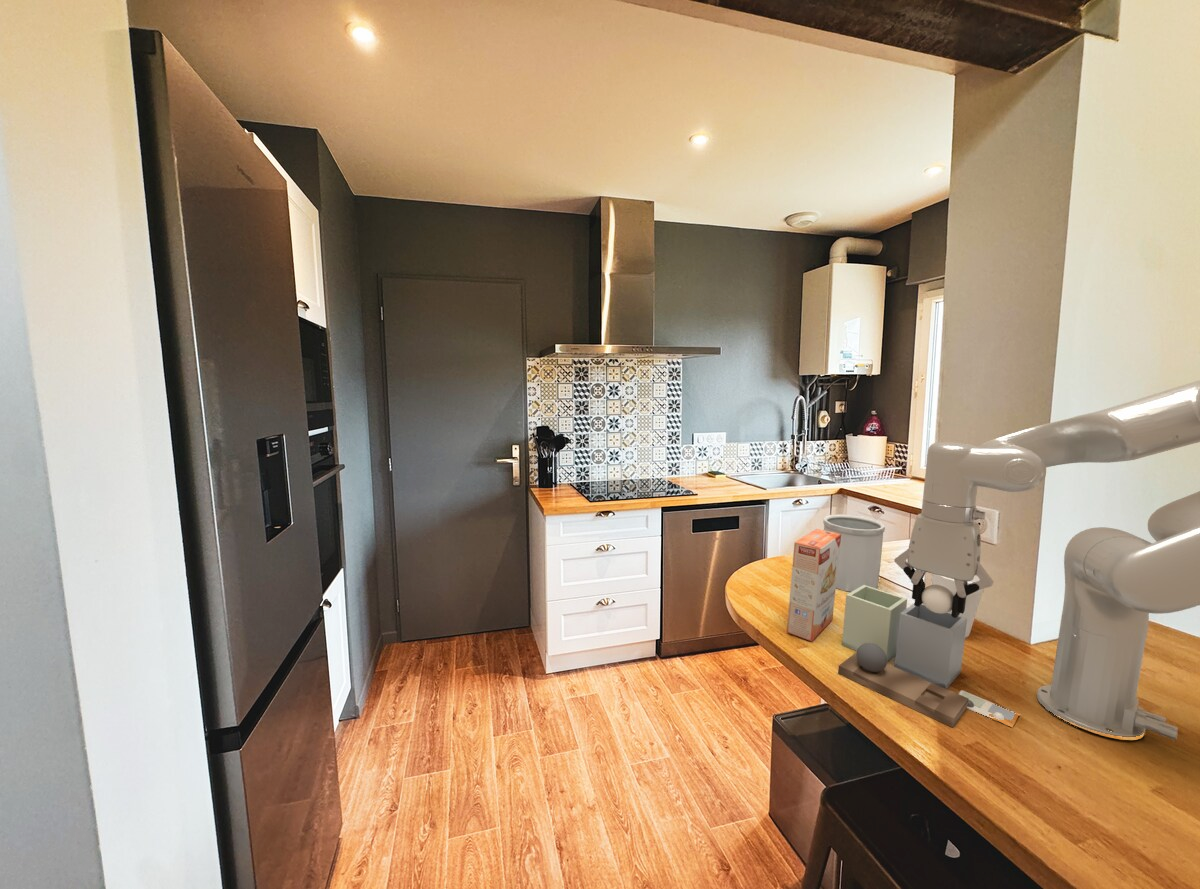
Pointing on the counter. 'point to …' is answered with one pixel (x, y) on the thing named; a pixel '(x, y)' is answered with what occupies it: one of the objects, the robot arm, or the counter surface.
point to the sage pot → (872, 619)
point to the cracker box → (813, 583)
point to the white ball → (937, 599)
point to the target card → (986, 707)
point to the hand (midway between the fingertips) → (936, 608)
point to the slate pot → (930, 644)
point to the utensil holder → (857, 550)
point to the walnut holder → (908, 690)
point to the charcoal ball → (871, 657)
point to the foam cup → (971, 599)
